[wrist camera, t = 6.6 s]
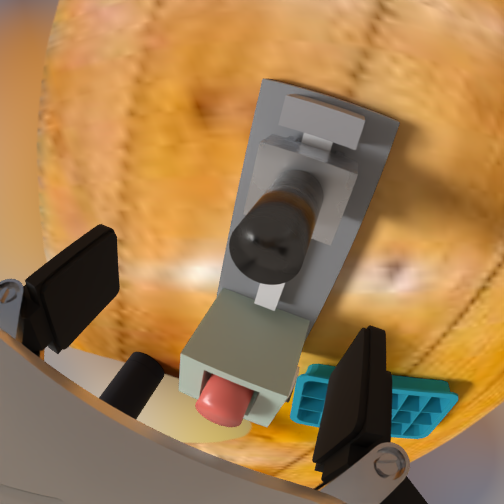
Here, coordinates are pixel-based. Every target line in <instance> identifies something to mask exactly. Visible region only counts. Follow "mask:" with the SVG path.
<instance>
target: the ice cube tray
mask: <svg viewBox="0 0 504 504" xmlns="http://www.w3.org/2000/svg"><path fill="white" fill-rule="evenodd" d="M334 369H335V366H329V365H323V364H312V365H310V366H308V369H307V372H306V374H301V375H300V376H298V377H297V380H296V386H295V392H294V398H293V403H292V409H291V414H290V418H291V419H292V421H294V422H296V423H299V424H304V425H310V426H315V427H320V423H321V418H322V413H323V408H324V403H325V398H326V392H327V387H328V381H329V378H330V375H331V373H332V372H333V370H334ZM457 401H458V394H456V393H454V392H450V388H449V384H448V382H446V381H443V380H434V379H423V378H413V377H404V376H396V375H392V423H391V437H397V438H411V439H419V438H424V437H426V436H428V435H429V434H430V433H431V432H432V431H433V430H434V429H435V427H436V426H437V425H438V424H439V423H440V422H441V421H442V419H443V418H444V417H445V416H446V415H447V413H448V412H449V411H450V410H451V409H452V407H453V406H454V405H455V404H456V402H457Z"/></svg>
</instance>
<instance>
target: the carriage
mask: <svg viewBox="0 0 504 504" xmlns="http://www.w3.org/2000/svg"><path fill="white" fill-rule="evenodd" d="M357 176H358V162H356V161H353V160H350V159H348V158H345V157H344V153H341V152H339V151H336V154H334V153H331V152H328V151H325V150H322V149H319V148H316V147H313V146H310V145H307V144H304V143H301V142H298V138H297V137H294V136H289V137H287V138H285V137H282V136H278V135H275V134H272V135H270V136H268V137H267V138H265V139H264V140H262V141H260V143H259V148H258V152H257V156H256V160H255V165H254V169H253V173H252V178H251V182H250V187H249V191H248V195H247V200H246V204H245V209H244V213H243V214H244V215H246V216H245V217H244V218H243V220H242V221H241V222H240V223H239V224H238V226H237V227H236V228H235V229H234V231H233V232H232V235H231V237H230V241H229V250H230V255H231V258H232V260H233V262H234V264H235V265H236V267H237V268H238V269H239V270H240V271H241V272H242V273H243V274H244V275H245V276H247V277H248V278H250V279H252V280H253V281H256V282H258V283H262V284H267V285H278V284H283V283H285V282H288V281H290V280H291V279H293V278H294V277H295V276H296V275H297V274H298V273H299V271H300V269H301V267H302V264H303V262H304V259H305V256H306V253H307V250H308V247H309V244H310V241H311V239H314V240H317V241H319V242H322V243H325V244H328V245H330V246H331V243H332V241H333V238H334V236H335V233H336V231H337V228H338V226H339V223H340V221H341V218H342V216H343V213H344V211H345V208H346V205H347V203H348V200H349V198H350V195H351V192H352V190H353V187H354V184H355V182H356V179H357Z"/></svg>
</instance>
